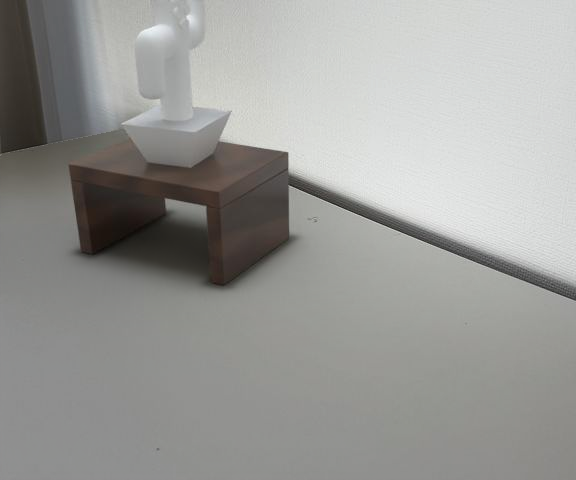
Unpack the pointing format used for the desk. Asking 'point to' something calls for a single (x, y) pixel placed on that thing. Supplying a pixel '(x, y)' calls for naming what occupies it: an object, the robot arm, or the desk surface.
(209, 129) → the figurine
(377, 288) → the desk surface
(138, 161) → the shelf
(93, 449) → the desk surface
